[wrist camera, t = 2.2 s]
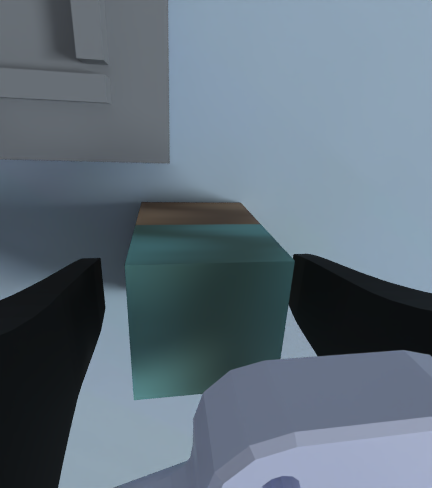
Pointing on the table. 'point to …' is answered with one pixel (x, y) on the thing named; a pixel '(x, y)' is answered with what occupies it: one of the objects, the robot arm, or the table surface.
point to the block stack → (202, 295)
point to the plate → (84, 80)
